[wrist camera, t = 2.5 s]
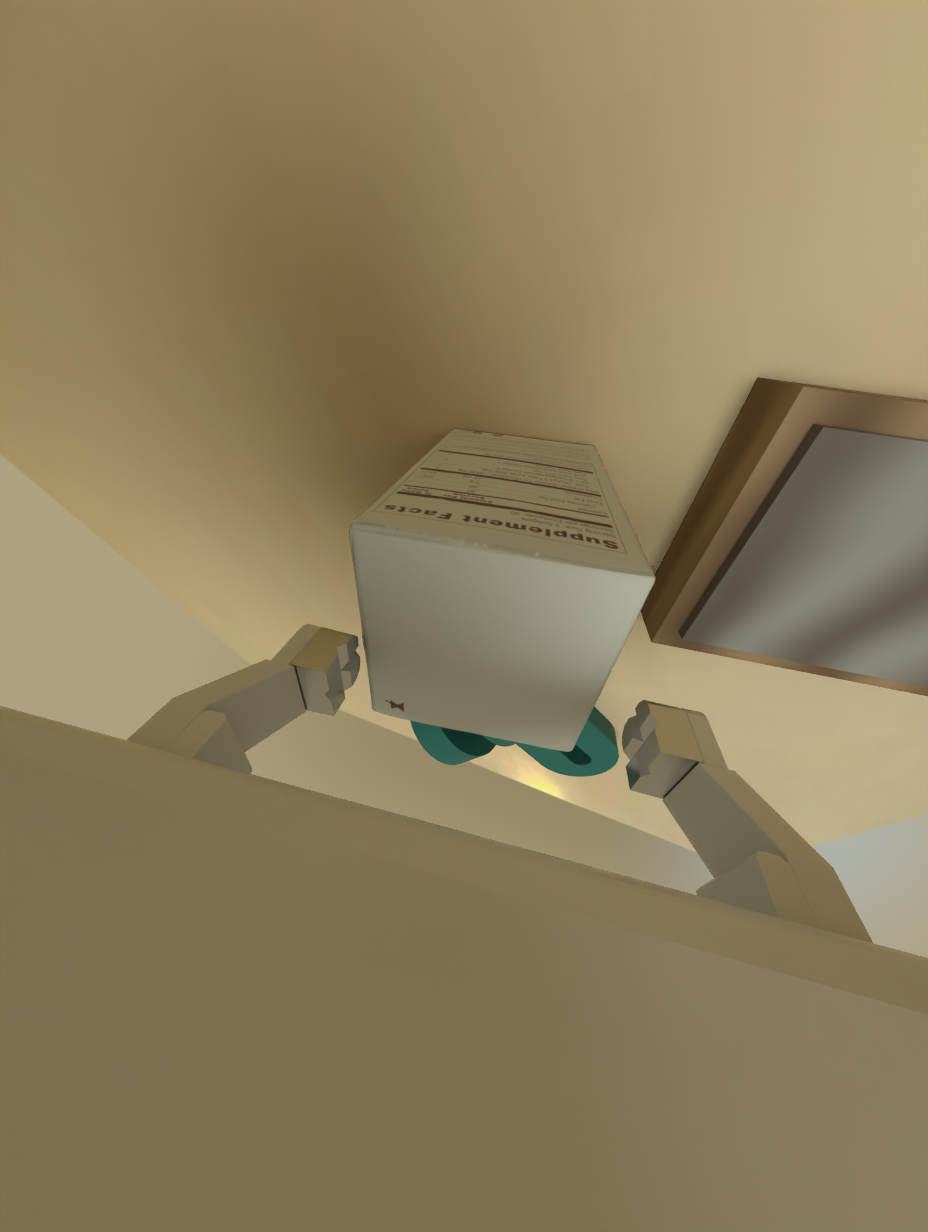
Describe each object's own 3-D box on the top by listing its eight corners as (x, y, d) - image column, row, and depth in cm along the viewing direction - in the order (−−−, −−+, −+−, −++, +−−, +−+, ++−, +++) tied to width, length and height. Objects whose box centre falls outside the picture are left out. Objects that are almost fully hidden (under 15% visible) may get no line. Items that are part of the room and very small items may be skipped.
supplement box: (561, 571, 22) (572, 761, 12) (443, 551, 23) (363, 716, 13) (600, 441, 17) (670, 579, 8) (451, 421, 18) (335, 523, 8)
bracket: (428, 645, 28) (395, 730, 22) (492, 603, 25) (474, 691, 18) (563, 760, 34) (566, 851, 28) (630, 740, 31) (650, 840, 25)
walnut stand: (639, 605, 22) (653, 649, 19) (758, 377, 15) (814, 388, 12) (914, 657, 21) (977, 713, 18) (1197, 437, 14) (1389, 467, 10)
